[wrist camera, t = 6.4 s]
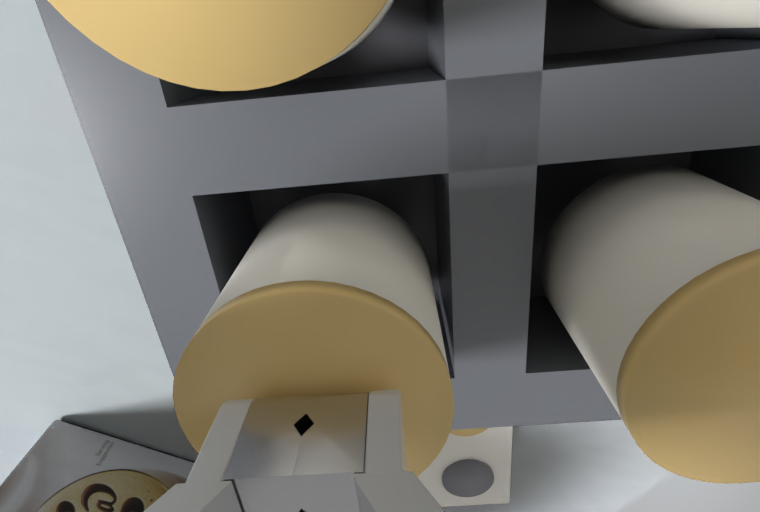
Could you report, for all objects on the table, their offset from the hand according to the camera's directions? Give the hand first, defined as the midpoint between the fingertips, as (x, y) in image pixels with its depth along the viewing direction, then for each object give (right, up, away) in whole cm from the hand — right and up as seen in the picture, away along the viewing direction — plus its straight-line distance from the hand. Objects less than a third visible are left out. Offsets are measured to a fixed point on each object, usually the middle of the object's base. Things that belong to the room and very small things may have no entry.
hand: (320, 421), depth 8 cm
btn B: (0, +2, +5) cm, 5 cm away
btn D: (+8, +3, +4) cm, 9 cm away
